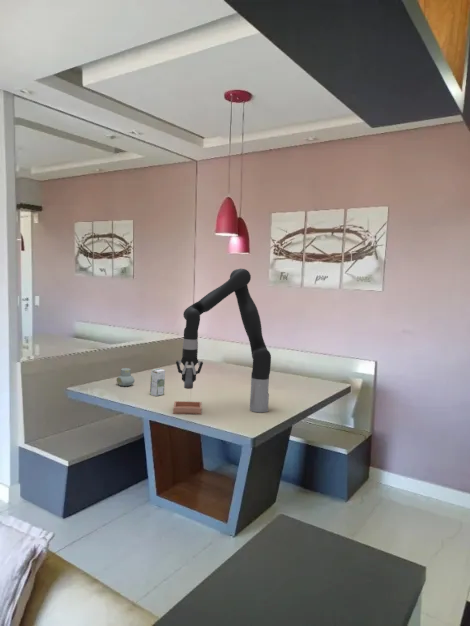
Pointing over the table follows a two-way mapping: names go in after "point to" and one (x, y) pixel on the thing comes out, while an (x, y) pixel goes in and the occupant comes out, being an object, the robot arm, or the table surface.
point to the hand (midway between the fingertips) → (188, 381)
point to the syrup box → (157, 382)
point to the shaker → (188, 377)
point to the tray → (187, 407)
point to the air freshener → (125, 377)
